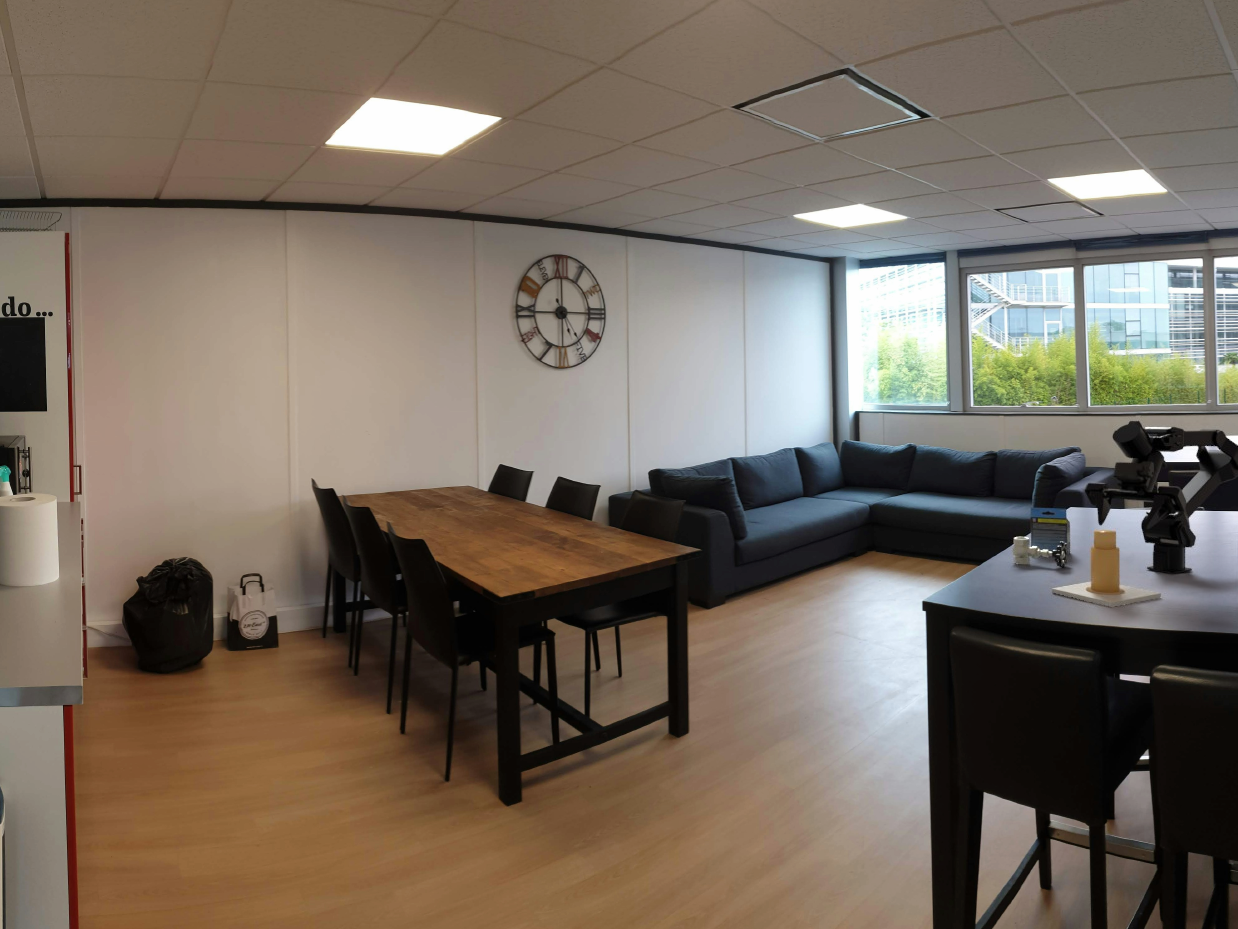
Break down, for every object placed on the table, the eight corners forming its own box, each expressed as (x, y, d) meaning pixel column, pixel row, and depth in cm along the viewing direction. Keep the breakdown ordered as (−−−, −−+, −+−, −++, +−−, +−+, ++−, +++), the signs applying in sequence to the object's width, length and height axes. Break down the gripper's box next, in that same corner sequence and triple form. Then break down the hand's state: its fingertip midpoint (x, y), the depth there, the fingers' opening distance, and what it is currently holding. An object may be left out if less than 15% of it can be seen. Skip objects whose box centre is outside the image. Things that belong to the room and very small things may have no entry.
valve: (1008, 565, 202) (1060, 570, 193) (1007, 539, 201) (1060, 543, 193) (1017, 560, 206) (1069, 565, 198) (1017, 535, 206) (1068, 539, 197)
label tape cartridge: (1071, 553, 212) (1070, 506, 211) (1067, 555, 209) (1067, 508, 208) (1034, 550, 218) (1033, 505, 217) (1030, 552, 215) (1029, 507, 214)
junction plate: (1098, 584, 178) (1098, 579, 178) (1160, 598, 165) (1160, 592, 165) (1052, 593, 173) (1051, 587, 173) (1111, 607, 160) (1111, 601, 160)
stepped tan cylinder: (1092, 586, 173) (1091, 528, 172) (1120, 588, 170) (1120, 530, 169) (1089, 591, 168) (1089, 532, 167) (1118, 593, 165) (1118, 534, 164)
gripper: (1087, 447, 185) (1065, 500, 179) (1181, 449, 170) (1160, 507, 164) (1103, 478, 190) (1081, 530, 184) (1195, 482, 175) (1175, 539, 169)
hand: (1122, 526), depth 175 cm, fingers open, 9 cm apart
